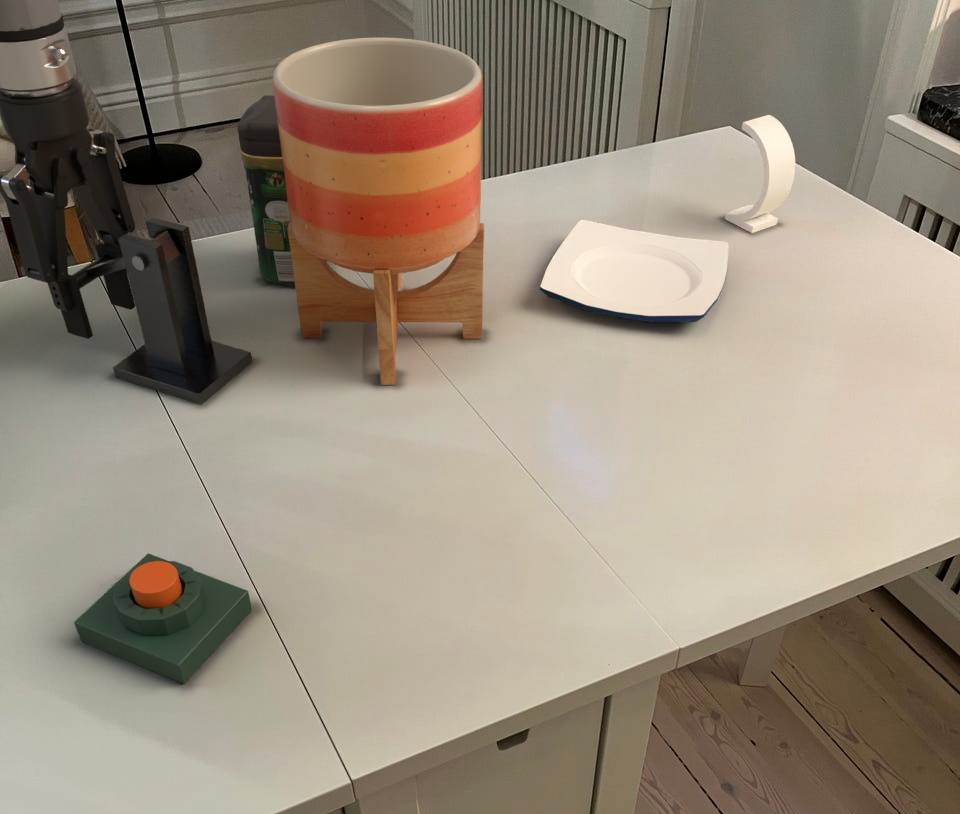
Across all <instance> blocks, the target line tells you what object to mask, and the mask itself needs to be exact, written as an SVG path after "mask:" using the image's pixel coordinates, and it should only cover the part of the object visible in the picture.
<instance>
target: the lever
mask: <svg viewBox="0 0 960 814" xmlns="http://www.w3.org/2000/svg"><path fill="white" fill-rule="evenodd" d="M145 239H146V240H150V241H153V242H157V243H161V244H162V246H163V250H164V255H165V259H166V264H168V263H169V262H171V261H172V260H174V259H175V258H177V257H178V256H180V253H179V251H178V249H177V247H176V245H175V243H174V242H173V240H172V238H171V236H170V234H169V232H168V231H165V232H162V233H160V234H157V235H154V236H151V237H149V236H148V237H147V238H145ZM124 268H126V267H125V263H124V259H123V256H120V257H117V258H114V259H112V258H111V257H110V256H108V255H103V256H102V257H100V258H97V259H95V260H94V261H92V262H90V263H89V264H87V265H86V266H84V267H83V268H80V269H79V270H77V271H75V272H74V273H73V274H71V275H72V276H76V279H77V282H78V285H79V289H80V290H81V289H82V288H84V287H85V286H87V285H88V284H90V283H91V282H93V281H95V280H96V279H98V278H100V277H104V276H103V275H106V274H109V273H112V272H115V271H118V270H121V269H124Z"/></svg>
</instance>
